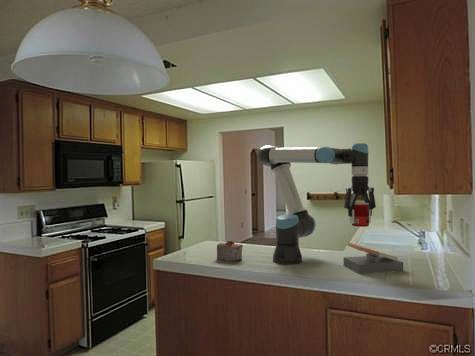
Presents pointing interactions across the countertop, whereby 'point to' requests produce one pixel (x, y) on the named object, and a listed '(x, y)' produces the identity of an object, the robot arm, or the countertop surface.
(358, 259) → the switch base
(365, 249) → the rocker switch
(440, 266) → the countertop surface
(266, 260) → the countertop surface
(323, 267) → the countertop surface
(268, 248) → the countertop surface
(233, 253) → the food item
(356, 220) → the canned food
